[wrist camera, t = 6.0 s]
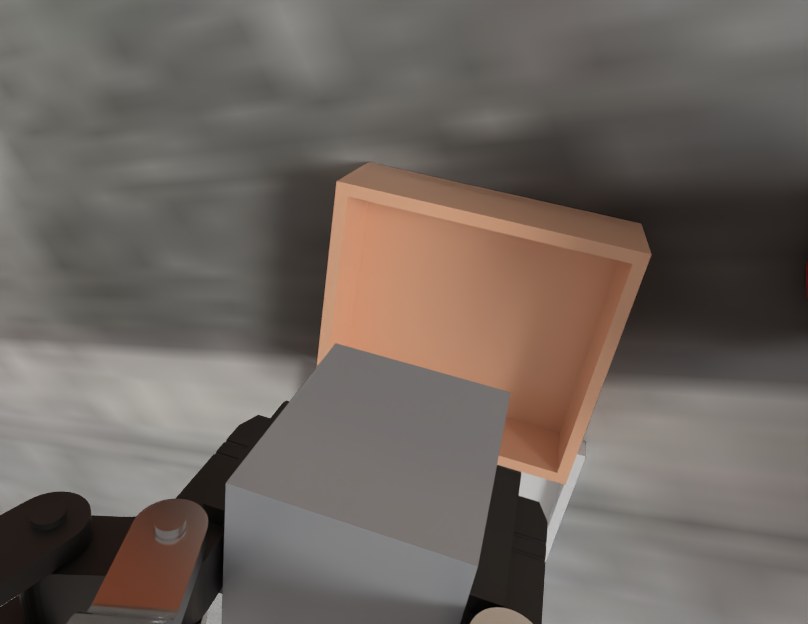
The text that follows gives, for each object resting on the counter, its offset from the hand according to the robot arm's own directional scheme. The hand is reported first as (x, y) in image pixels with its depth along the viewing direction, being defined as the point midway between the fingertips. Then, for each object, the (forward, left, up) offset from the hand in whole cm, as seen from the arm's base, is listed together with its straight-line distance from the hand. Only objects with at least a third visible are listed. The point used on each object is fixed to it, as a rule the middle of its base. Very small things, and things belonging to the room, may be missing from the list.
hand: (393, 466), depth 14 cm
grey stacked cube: (0, 0, -1) cm, 1 cm away
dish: (0, +3, -15) cm, 15 cm away
